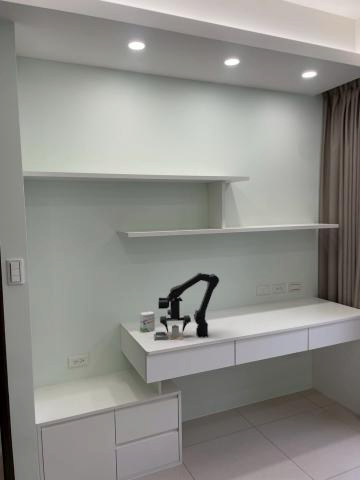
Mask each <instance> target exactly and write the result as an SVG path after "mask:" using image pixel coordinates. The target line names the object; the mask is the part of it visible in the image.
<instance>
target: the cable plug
mask: <svg viewBox="0 0 360 480" xmlns="http://www.w3.org/2000/svg"><path fill="white" fill-rule="evenodd" d="M171 334H172V338H179V334H180V327H179V325H178V324H173V325H171Z"/></svg>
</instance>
